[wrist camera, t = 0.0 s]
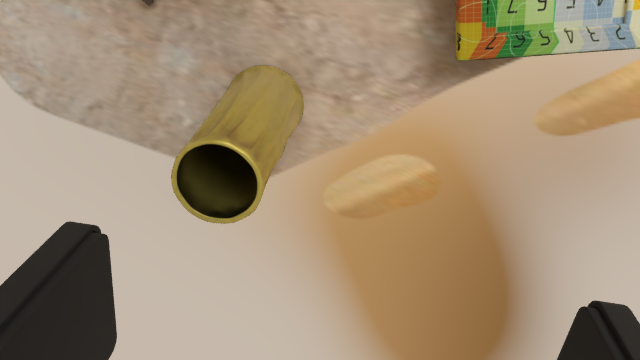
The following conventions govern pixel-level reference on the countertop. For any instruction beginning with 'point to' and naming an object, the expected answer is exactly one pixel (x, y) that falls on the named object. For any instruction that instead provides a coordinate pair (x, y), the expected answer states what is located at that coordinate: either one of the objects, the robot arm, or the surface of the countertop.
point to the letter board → (149, 2)
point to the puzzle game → (544, 27)
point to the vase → (238, 146)
